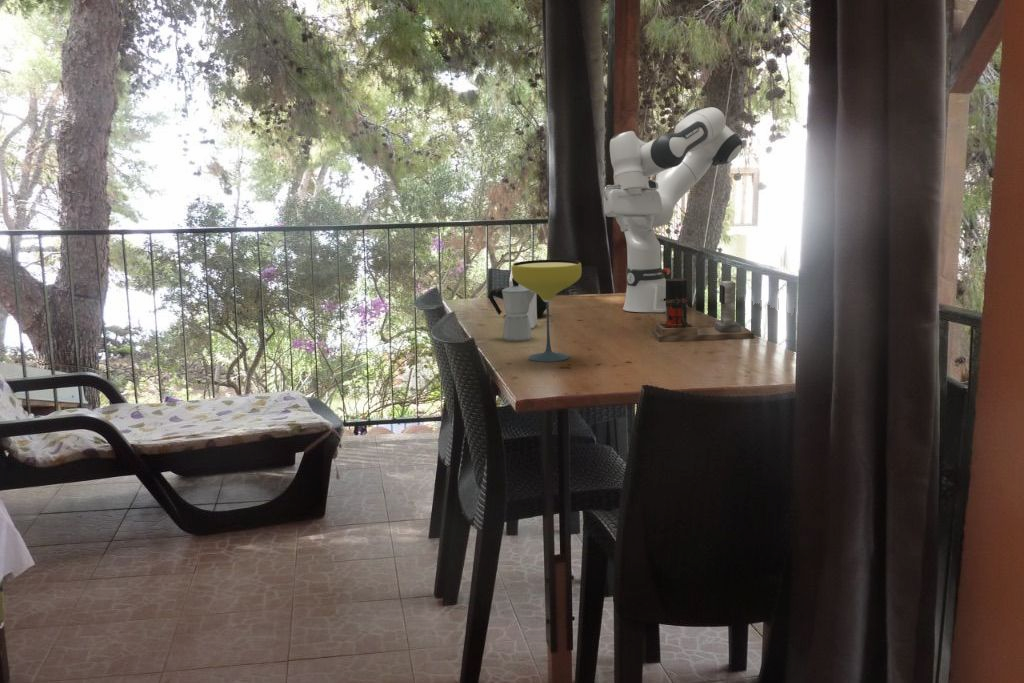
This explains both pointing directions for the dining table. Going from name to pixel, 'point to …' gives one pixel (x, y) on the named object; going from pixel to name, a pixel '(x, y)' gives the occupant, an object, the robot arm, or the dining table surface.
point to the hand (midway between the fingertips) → (637, 231)
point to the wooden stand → (721, 330)
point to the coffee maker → (514, 311)
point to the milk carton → (532, 306)
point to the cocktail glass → (547, 289)
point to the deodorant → (676, 303)
